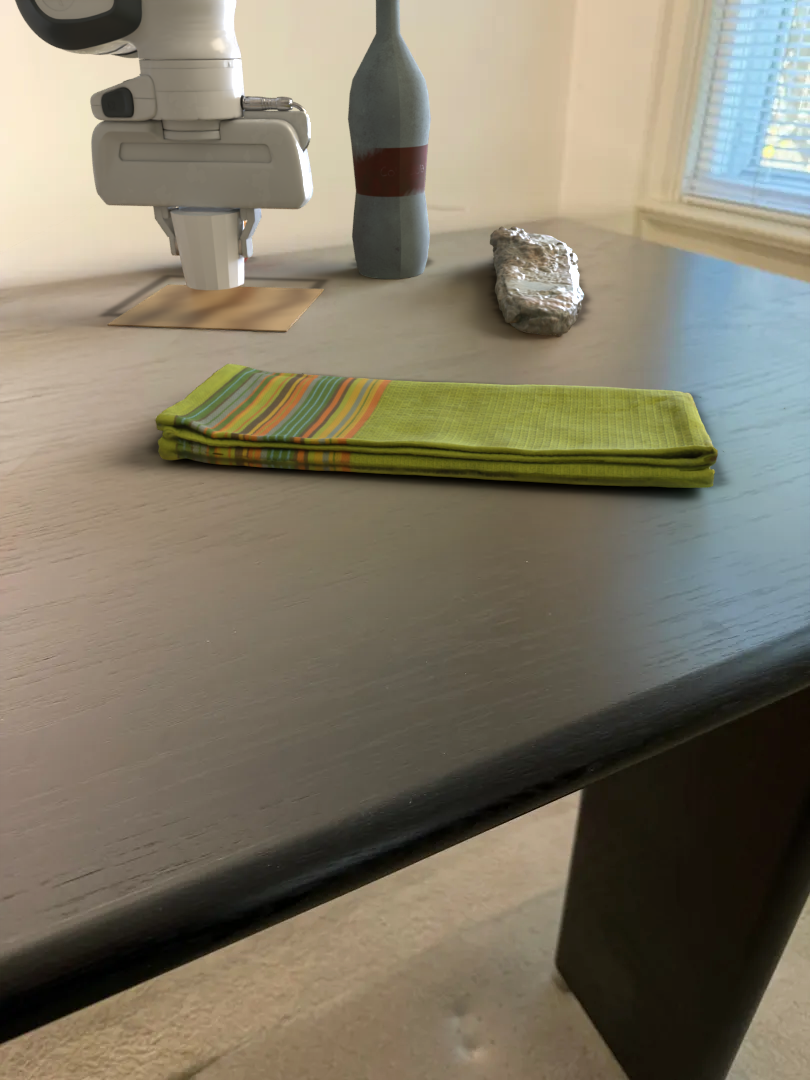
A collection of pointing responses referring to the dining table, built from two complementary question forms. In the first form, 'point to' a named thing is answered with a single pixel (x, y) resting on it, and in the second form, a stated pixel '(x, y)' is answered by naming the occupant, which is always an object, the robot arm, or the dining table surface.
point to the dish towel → (441, 429)
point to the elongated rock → (536, 281)
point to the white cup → (209, 246)
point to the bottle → (389, 154)
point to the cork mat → (221, 308)
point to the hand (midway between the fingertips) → (212, 255)
